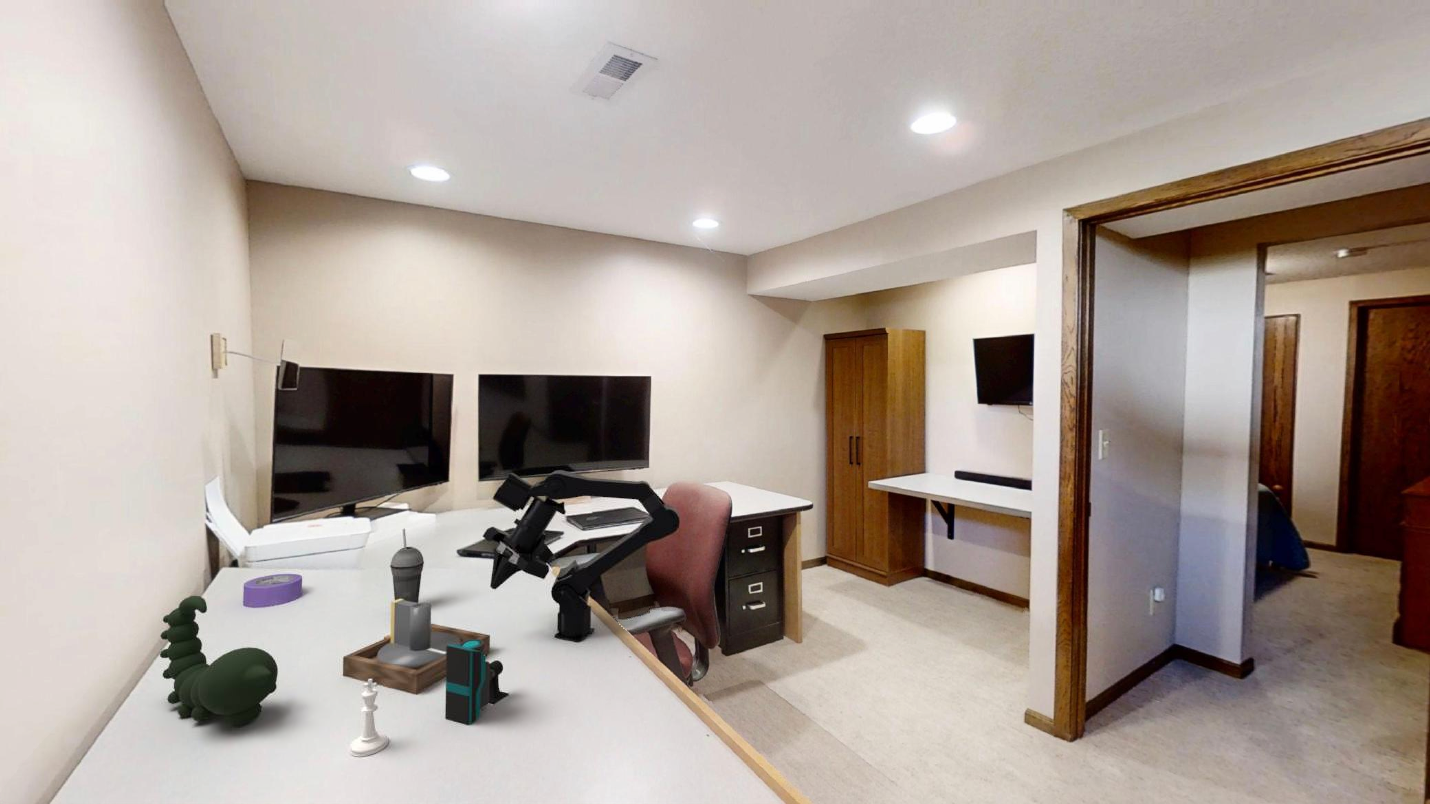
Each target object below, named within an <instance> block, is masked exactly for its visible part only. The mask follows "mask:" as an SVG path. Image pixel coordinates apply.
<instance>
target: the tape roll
mask: <svg viewBox="0 0 1430 804" xmlns="http://www.w3.org/2000/svg"><path fill="white" fill-rule="evenodd" d="M242 593H243V596H242V597H243V598H242V605H243V606H244V607H247V608H269V607H275V605H276V606H280V605H284V604H288V603H292V602H294V601H296V599H297V600H298V599H300V598H301V597H302V593H303V576H302V575H301V574H298V573H297V574H296V573H281V574H279V573H277V574H272V575H271V574H270V575H264V576H259V577H256V578H252V579H250V580H248V581H246V582H244V583H243V591H242ZM291 601H292V602H291Z"/></svg>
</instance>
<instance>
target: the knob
mask: <svg viewBox="0 0 1430 804" xmlns="http://www.w3.org/2000/svg"><path fill="white" fill-rule="evenodd" d="M431 624H432V604H431V603H430V602H422V603H421V602H418V603H415V602H410V601H405V600H404V599H398V600H395V599H394V600H392V601H391V603H390V636H391V641H390V643H388V644H386V645H385V646H383V647H382V648H381V649H380V650H379V651H378V654H377V661H380V662H384V663H389V664H393V665H397V666H401V667H405V668H410V669H414V670H419V669H420V668H422V667H424V666H426V665H428V664H430V663H432V662H434V661H436V660H438V659H439V658H441V657H443V656H445V655H446V645H448V644H453V645H457V646H459V644H460V638H459V637H458V636H456V635H454V634H451V633H445V632H431Z"/></svg>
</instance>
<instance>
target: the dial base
mask: <svg viewBox="0 0 1430 804" xmlns="http://www.w3.org/2000/svg"><path fill="white" fill-rule="evenodd" d="M431 632H445V633H451V634H454V635H456V636H458V637H459V638H460V643H462V642H464V641H466V640H471V639H481V640H483V641H484V655H485V656H486V655H487V654H489V653H490V652H491V649H490V648H491V646H490V645H491V634H486V633H481V632H476V631H471V630H466V629H460V628H455V627H449V626H445V625H439V624H436V623H431ZM390 641H391V634H388V635H386V636H384V637H383V639H381V640H379V641H377V642H374V643H372V644H370V645H367V646H364V647H363V648H360V649H358V650H356V651H353V652H351V653H349V654H346V655H344V656H342V676H343V677H347V678H351V679H354V680H359V681H362V682H365V683H368V680H369V679H372V683H377V685H378V686H383V687H385V688H389V689H392V690H393V689H394V690H398V691H401V692H405V693H409V694H412V695H418V694H419V693H421V692H423V691H426V689H428V688H430V687H432V686H433V685H435V684H437V683H438V682H440V681H443V679H446V655H445V656H443V657H441V658H439V659H438V660H436V661H434V662H432V663H430V664H428V665H426V666H424V667H422V668H420V669H419V670H414V669H410V668H405V667H401V666H397V665H393V664H389V663H384V662H380V661H377V654H378V651H379V650H380V649H381V648H382V647H383V646H385V645H386V644H388V643H390Z"/></svg>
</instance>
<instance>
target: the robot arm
mask: <svg viewBox="0 0 1430 804" xmlns="http://www.w3.org/2000/svg"><path fill="white" fill-rule="evenodd" d="M541 497H545V499H544V498H541ZM579 497H580V498H581V497H594V498H595V497H596V498H611V499H625V500H636V501H638V502H639V503H640V504H641V505H642V507H643V508H644V509H645V511H646V512H647V513H648V514H649V515H647V517H646V518H645V519H644V520H643V521H642V523H641V524H640V525H638V526H637V527H636V528H635V529H633V530H632V531H631V532H629V533H628V534H626V535H624V536H623V537H622V538H619V540H618V541H616V542H615V543H613V544H611V545H610V546H609V547H607V548H606V549H604V550H603V551H601V552H600V553H599V554H597V555H595V556H594V557H592V558H591V559H590V560H588V561H586V562H583V563H580V564H578V562H577V560H576V559H575V560H573V561H572V562H571V563H570V564H569V565H568V566H566V567H563V568H560V570H559V572H558V575H557V576H556V578H555V580H554V582H553V585H552V587H551V591H550V592H551V597H552V599H553V601H554V602H555V604H556V603H557V604H558V606H559V608H558V612H557V619H556V620H557V622H556V623H557V626H556V629H557V632H556V633H555V634H553V635H554V636H553V637H554V638H556V639H561V640H567V641H570V642H571V641H572V642H578V643H579V642H581V641H582V640H584V639H585V638H587V637H589V635H591V634H593V633H594V632H595V628H592V627H591V626H592V620H591V619H592V611H591V610H592V606H591V605H589V604H588V602H589V599H590V594H591V590H590V589H588V588H589V587H590V585H591V584H592V583H593V582H594V581H595V580H596V579H597V578H599V577H601V576H602V575H603V574H604V573H605V574H606V572H608V571H609V570H611V569H612V568H613V567H616V565H618V564H619V563H621V562H622V561H624V560H625V559H627V558H628V557H630V556H631V555H633V554H634V553H635V552H636V551H639V550H640V549H642V548H643V547H644V546H646V545H647V544H650V543H652V542H657V541H658V540H662V539H663V538H666V537H669V536H670V535H673V534H674V533H676V532H677V531H678V530H679V528H680V522H681V521H680V517H679V514H678V512H677V510H676V508H675V507H674V505H673V506H672V505H671V504H667V503H665V501H664V500H663V499H662V498H661V497H660V496H659V494H657V493H656V491H655V490H653V488H652V487H651V485H650V484H649V483H648V481H644V480H640V481H635V480H622V479H621V480H619V479H610V478H609V479H607V478H594V477H593V478H592V477H588V476H587V477H586V476H584V475H581V474H578V473H575V472H571V471H566V470H562V469H560V470H559V469H558V470H555V471H553V472H551V473H550V474H549V475H548V476H547V477H545V479H544V480H542V481H541V480H540V481H537V482H536V483H534V484H531V483H529V481H528V482H527V481H526V480H524V479H523V478H520V476H519V475H517V474H515V473H514V472H512V473H509V475H508V476H507V478H506V479H505V480H504V481H503V483H502V484H501V485H499V487H498V488H497V490H496V492H495V494H494V495H493V497H492V500H493V501H495V502H497V503H499V504H501V505H502V506H504V507H506V508H507V509H509V510H511V511H513V512H514V513H516V512H517V511H519V510H521V511H523V510H524V509H525V508H526V506H527V505H528V503H529V502H530V500H531V499H532V498H533V500H532V501H531V503H530V504H529V506H528V508H527V509H526V510H525V511H524V513H523V514H522V516H521V518H519V519H518V518H515V520H514V521H513V523H514V524H515V525H516V526H515V527H514V529H513V531H511V534H509V532H506V531H505V530H502V529H500V528H497V527H495V526H491V527H488V528H487V529H486V530H485V531H484V533H483V534H482V537H483V538H484V539H485V540H486V541H487V542H492V541H493V542H496V543H498V544H499V545H498V546H497V548H493V549H492V552H493V563H492V570H491V572H492V573H491V578H490V586H489V587H490V588H491V589H492V590H497V589H498V588H499V587H501V585H503V584H504V583H505V582H506V581H507V580H509V579H510V578H511V577H512V576H514V575H515V574H516V573H518V572H521V571H522V572H524V573H525V574H528V575H531V576H534V577H537V578H539V579H542V580H545V579H546V577H547V576H548V574H549V572H550V565H548V564H547V563H549V561H551V559H552V558H553V557H554V556H555V554H554V553H553V552H552V550H551V549H550V548H549V547H548V545H547V544H546V543H545V540H546V539H547V534H546V533H545V531H546V529H547V528H548V527H549V524H550V523H551V521H552V520H553V518H554V517H555V515H556V513H559V514H561V515H566V513H567V511H566V508H565V507H566V506H565V501H561V500H569V499H575V498H579ZM556 500H557V501H556ZM558 500H559V501H560V502H558ZM592 632H593V633H592Z"/></svg>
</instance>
